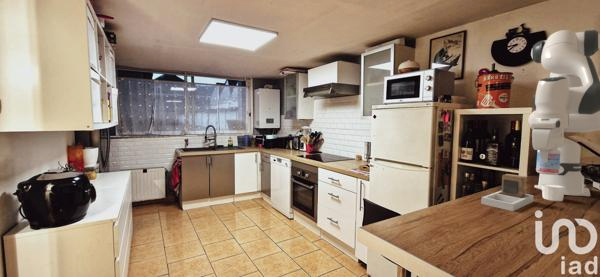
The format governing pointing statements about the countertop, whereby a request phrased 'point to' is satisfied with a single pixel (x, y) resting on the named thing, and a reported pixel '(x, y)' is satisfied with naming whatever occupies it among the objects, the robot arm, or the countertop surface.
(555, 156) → the pill bottle
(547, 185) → the white ramekin
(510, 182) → the brown wooden block
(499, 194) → the grey compartment tray
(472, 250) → the countertop surface
